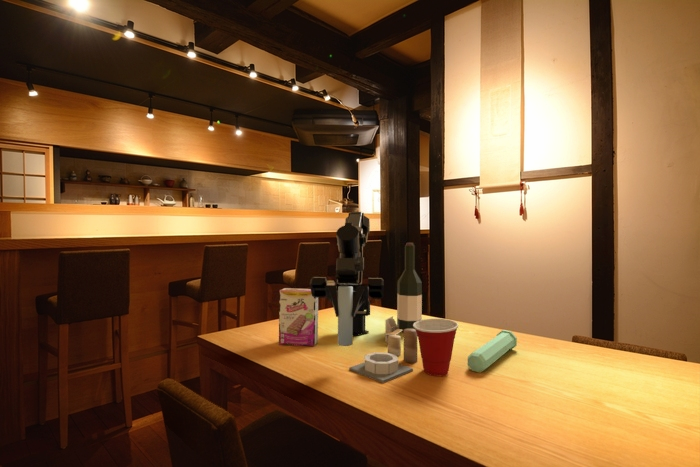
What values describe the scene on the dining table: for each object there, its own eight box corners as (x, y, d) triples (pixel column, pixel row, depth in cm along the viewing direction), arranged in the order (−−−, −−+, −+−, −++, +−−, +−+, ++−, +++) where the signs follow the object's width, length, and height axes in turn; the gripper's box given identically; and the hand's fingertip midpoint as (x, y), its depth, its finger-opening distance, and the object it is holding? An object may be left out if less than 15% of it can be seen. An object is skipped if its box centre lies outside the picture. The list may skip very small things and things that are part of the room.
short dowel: (393, 351, 108) (393, 334, 108) (403, 354, 105) (403, 336, 105) (384, 354, 105) (385, 336, 105) (394, 357, 103) (395, 339, 103)
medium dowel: (409, 357, 103) (409, 327, 103) (420, 360, 101) (420, 330, 100) (400, 360, 101) (400, 330, 101) (411, 363, 98) (411, 332, 98)
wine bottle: (395, 332, 128) (395, 243, 128) (399, 326, 136) (399, 242, 136) (420, 334, 126) (420, 243, 125) (422, 328, 134) (423, 242, 133)
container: (480, 349, 91) (512, 327, 111) (459, 354, 95) (493, 332, 114) (490, 374, 90) (520, 347, 109) (467, 378, 93) (501, 351, 113)
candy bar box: (278, 345, 113) (278, 290, 113) (282, 340, 118) (283, 287, 118) (315, 346, 112) (315, 291, 112) (318, 341, 117) (318, 288, 117)
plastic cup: (404, 366, 96) (404, 319, 96) (441, 362, 100) (441, 316, 100) (427, 383, 86) (428, 330, 86) (467, 377, 90) (468, 326, 89)
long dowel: (344, 340, 96) (345, 285, 96) (355, 343, 94) (355, 286, 94) (334, 343, 94) (335, 286, 93) (345, 346, 91) (345, 288, 91)
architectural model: (402, 341, 120) (402, 317, 120) (394, 346, 114) (394, 322, 114) (392, 339, 122) (392, 316, 122) (383, 345, 115) (383, 320, 115)
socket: (379, 359, 101) (379, 347, 101) (412, 370, 93) (413, 358, 93) (349, 369, 94) (349, 357, 94) (382, 383, 86) (383, 369, 86)
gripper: (311, 245, 98) (301, 296, 87) (384, 246, 96) (383, 297, 86) (316, 272, 106) (308, 322, 95) (383, 273, 104) (383, 324, 94)
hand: (344, 316), depth 92 cm, fingers closed on long dowel, 4 cm apart
